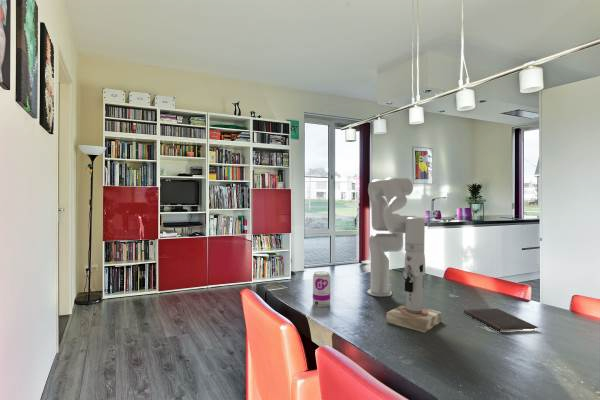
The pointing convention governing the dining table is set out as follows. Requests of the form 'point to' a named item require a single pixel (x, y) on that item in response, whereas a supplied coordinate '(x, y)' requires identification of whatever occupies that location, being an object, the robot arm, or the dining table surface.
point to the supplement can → (321, 289)
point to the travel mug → (415, 295)
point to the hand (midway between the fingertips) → (414, 289)
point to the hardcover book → (499, 319)
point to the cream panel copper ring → (414, 318)
